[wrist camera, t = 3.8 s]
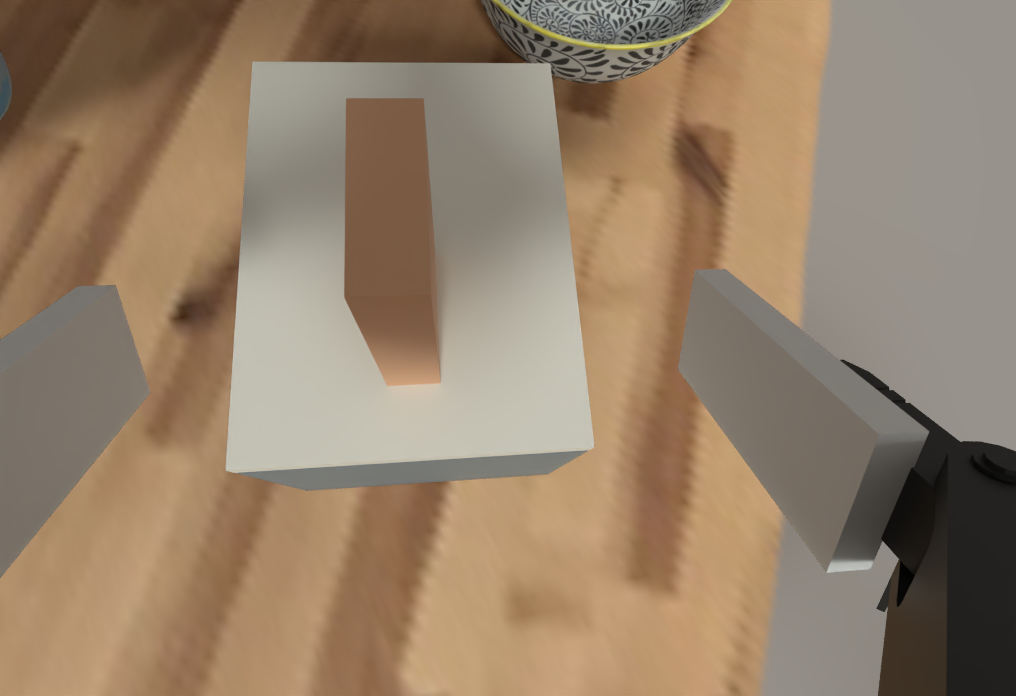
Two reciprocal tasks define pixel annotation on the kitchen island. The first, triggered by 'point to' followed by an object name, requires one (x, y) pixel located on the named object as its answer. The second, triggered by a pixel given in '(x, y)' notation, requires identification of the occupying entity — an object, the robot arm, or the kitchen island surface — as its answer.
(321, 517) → the kitchen island surface
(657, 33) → the bowl
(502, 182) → the lid
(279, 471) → the carton
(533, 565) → the kitchen island surface
